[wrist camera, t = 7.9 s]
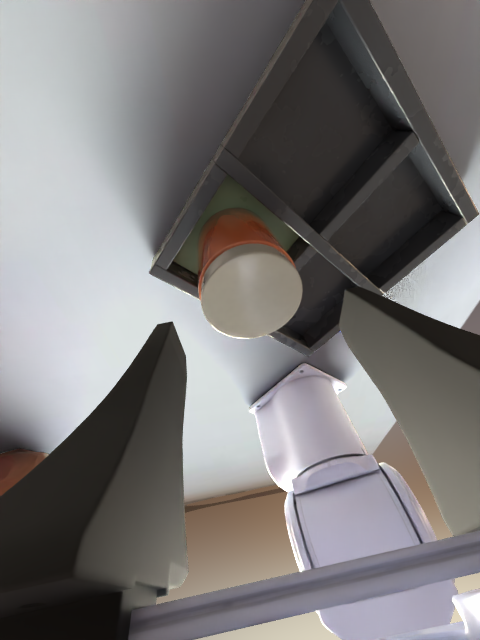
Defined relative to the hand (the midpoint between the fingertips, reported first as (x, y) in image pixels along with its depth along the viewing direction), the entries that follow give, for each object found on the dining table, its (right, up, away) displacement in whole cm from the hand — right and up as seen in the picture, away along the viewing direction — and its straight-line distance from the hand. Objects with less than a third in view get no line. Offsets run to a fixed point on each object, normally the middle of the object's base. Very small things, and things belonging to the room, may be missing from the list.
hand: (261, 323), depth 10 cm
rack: (+4, +6, +7) cm, 10 cm away
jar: (-1, +5, +6) cm, 8 cm away
